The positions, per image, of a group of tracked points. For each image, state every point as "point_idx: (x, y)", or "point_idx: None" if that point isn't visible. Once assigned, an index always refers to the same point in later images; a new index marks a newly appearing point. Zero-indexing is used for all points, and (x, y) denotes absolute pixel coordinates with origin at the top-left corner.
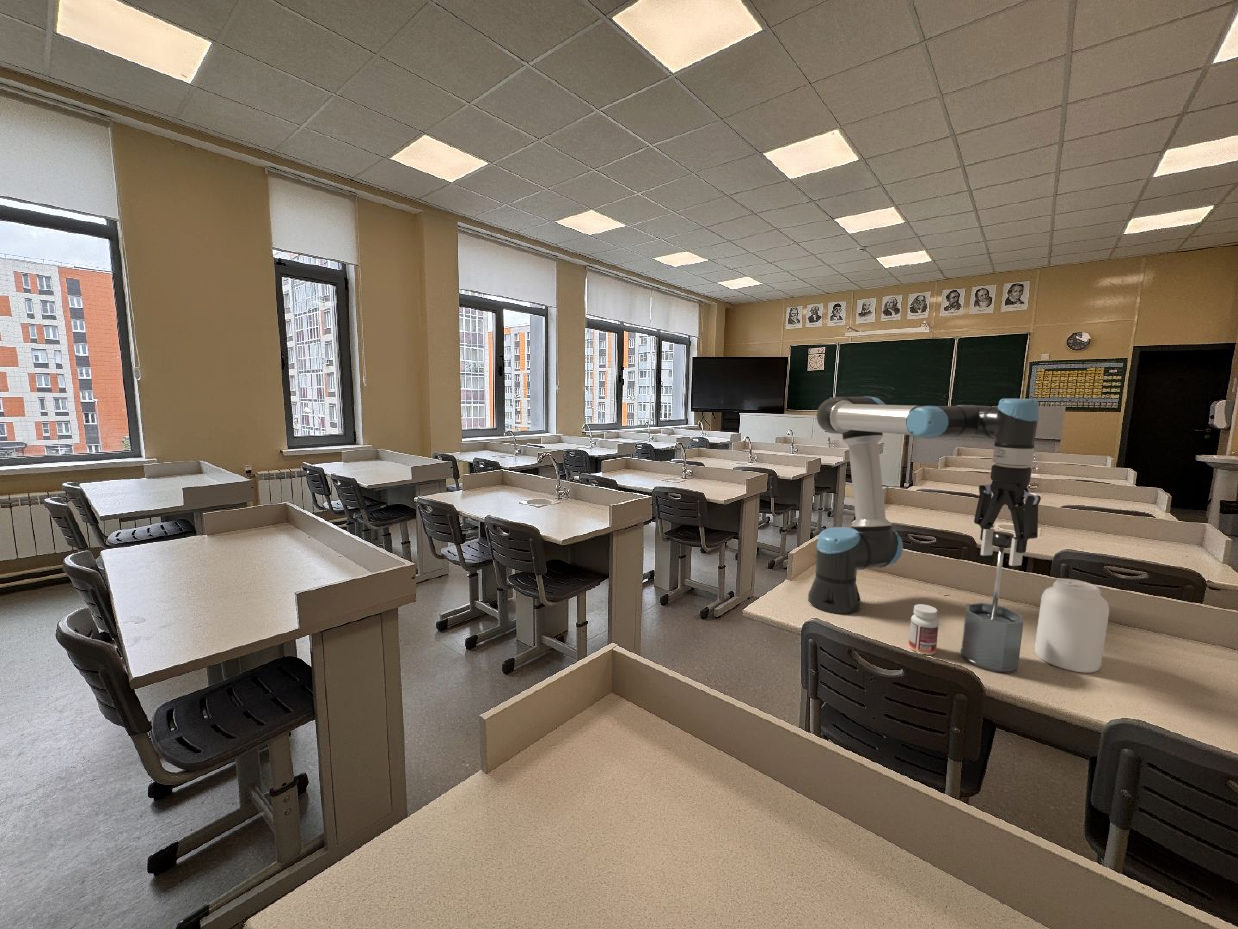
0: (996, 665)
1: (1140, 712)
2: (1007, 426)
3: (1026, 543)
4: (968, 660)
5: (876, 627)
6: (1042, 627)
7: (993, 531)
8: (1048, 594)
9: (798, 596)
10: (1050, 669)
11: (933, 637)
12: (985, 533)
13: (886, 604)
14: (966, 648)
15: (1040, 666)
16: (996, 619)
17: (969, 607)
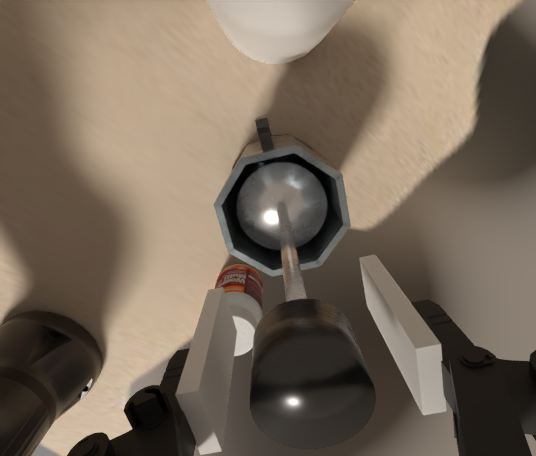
0: None
1: (472, 16)
2: None
3: (467, 339)
4: None
5: (153, 320)
6: (267, 53)
7: (205, 389)
8: (263, 21)
9: None
10: (313, 74)
11: (261, 297)
12: (222, 427)
13: (24, 252)
14: None
15: (301, 87)
16: (273, 193)
17: (234, 244)
